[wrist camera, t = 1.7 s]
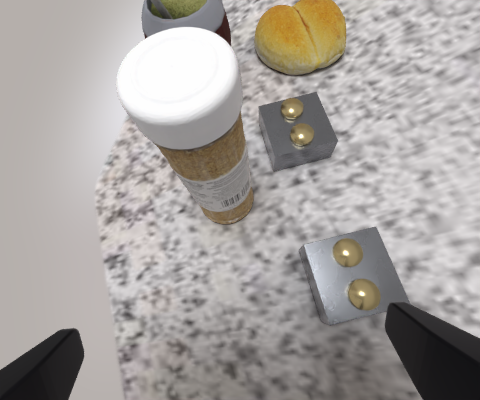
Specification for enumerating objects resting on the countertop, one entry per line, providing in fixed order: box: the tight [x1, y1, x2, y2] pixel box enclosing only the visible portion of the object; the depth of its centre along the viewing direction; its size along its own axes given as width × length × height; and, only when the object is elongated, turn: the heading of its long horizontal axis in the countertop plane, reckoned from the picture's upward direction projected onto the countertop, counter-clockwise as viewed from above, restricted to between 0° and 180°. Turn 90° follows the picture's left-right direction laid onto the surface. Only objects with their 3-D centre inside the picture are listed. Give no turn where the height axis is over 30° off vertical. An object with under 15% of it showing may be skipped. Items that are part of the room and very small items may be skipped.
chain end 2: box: [299, 227, 411, 325], centre depth 17 cm, size 5×5×3 cm
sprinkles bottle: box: [116, 27, 253, 224], centre depth 15 cm, size 5×5×14 cm
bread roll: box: [254, 0, 346, 75], centre depth 25 cm, size 8×9×4 cm
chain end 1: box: [259, 92, 338, 171], centre depth 22 cm, size 5×5×3 cm
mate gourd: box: [142, 0, 231, 46], centre depth 19 cm, size 8×8×15 cm
